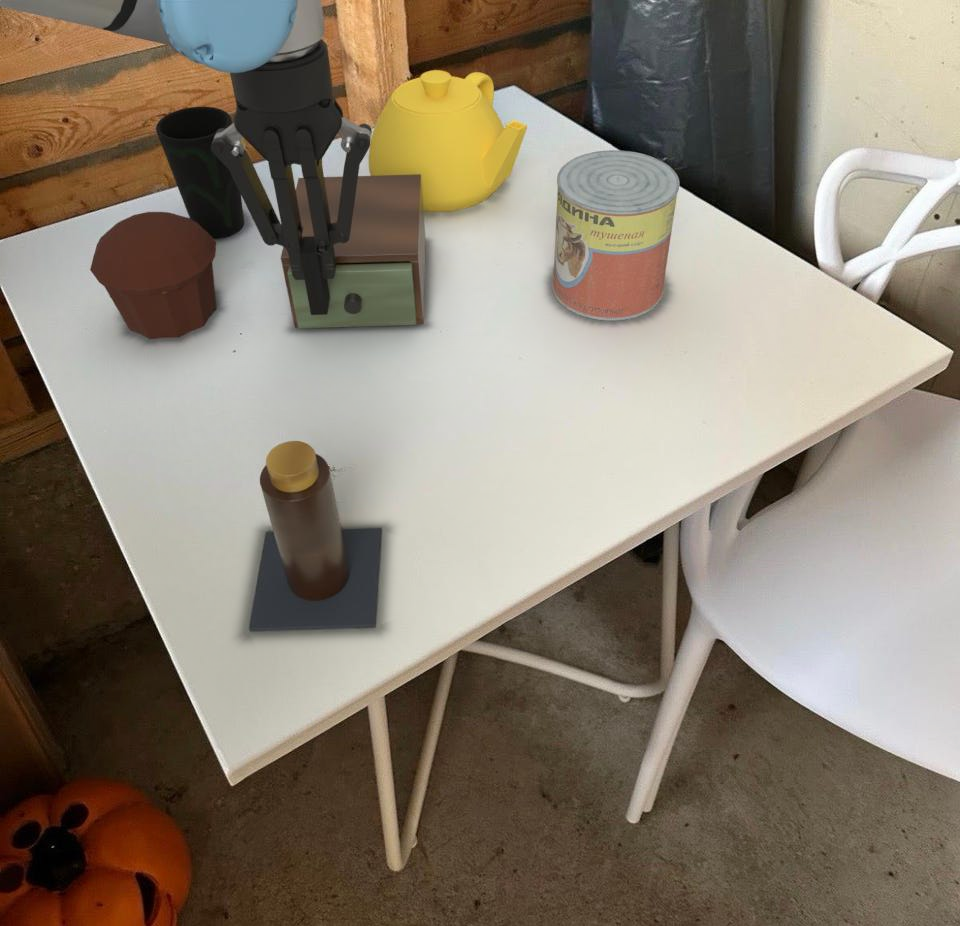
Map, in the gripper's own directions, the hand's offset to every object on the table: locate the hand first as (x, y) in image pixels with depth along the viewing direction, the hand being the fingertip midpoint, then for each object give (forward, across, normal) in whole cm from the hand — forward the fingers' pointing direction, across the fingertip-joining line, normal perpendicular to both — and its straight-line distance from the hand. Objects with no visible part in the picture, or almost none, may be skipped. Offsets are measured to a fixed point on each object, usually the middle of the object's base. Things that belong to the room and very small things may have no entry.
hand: (320, 306), depth 85 cm
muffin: (+5, +16, -6) cm, 18 cm away
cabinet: (+4, -3, -10) cm, 11 cm away
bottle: (+5, -2, +28) cm, 28 cm away
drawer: (+3, -3, -8) cm, 9 cm away
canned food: (+5, -28, -8) cm, 29 cm away
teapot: (+4, -13, -30) cm, 33 cm away
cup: (+4, +14, -22) cm, 27 cm away
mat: (+5, -2, +28) cm, 28 cm away
